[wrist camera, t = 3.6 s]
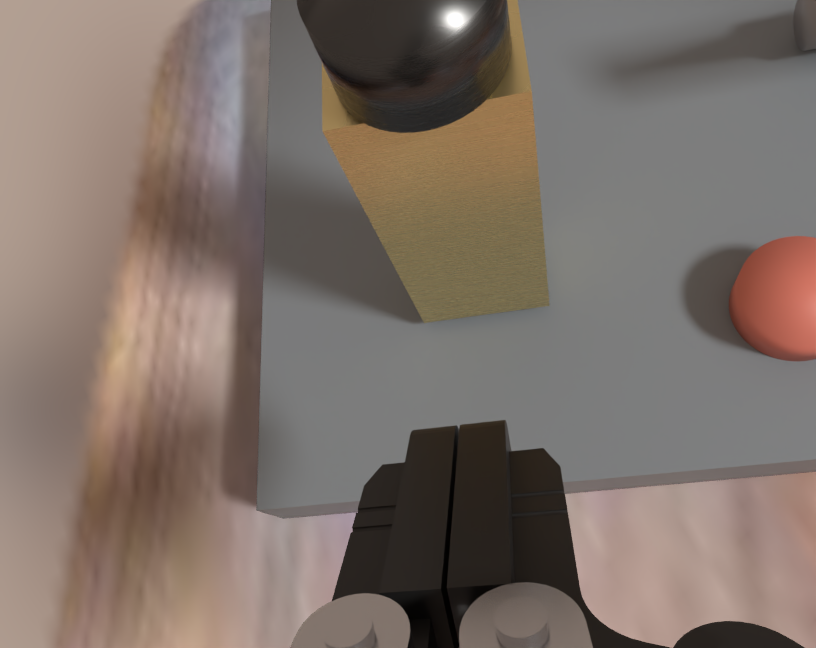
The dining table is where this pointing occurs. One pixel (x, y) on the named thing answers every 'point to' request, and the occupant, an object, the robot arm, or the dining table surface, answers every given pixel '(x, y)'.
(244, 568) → the dining table surface
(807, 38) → the cream rectangular block
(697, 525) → the dining table surface
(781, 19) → the control board
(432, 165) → the slide lever
